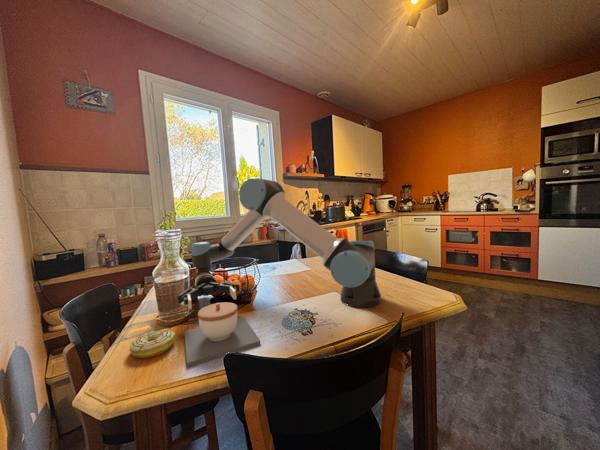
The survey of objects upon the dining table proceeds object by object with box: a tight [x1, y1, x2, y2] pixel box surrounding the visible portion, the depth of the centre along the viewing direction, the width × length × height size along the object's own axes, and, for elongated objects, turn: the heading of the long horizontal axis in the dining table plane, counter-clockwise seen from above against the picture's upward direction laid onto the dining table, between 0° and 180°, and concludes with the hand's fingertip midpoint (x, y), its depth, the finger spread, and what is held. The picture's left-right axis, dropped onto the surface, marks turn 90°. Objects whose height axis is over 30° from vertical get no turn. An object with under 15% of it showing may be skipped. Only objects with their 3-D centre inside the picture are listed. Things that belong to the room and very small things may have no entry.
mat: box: [183, 316, 261, 368], centre depth 69 cm, size 18×18×1 cm
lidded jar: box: [197, 301, 239, 341], centre depth 69 cm, size 11×11×9 cm
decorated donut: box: [129, 329, 176, 359], centre depth 66 cm, size 10×11×4 cm
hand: (213, 299), depth 77 cm, fingers open, 13 cm apart
